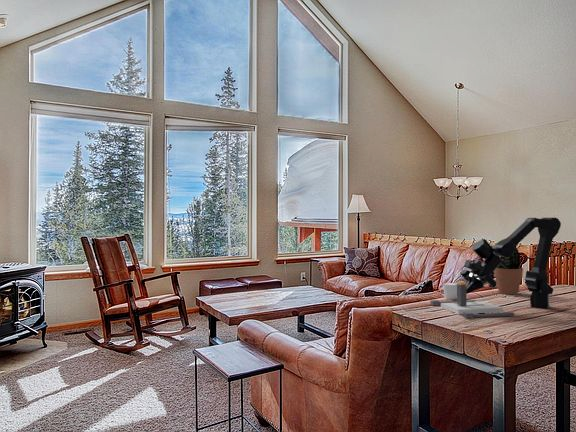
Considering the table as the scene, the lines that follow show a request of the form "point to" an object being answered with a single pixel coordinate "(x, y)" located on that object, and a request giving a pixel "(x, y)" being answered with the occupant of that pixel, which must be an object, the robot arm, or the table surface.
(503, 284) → the potted plant
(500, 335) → the table surface
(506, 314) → the pair of grey rods
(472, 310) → the breaker panel
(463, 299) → the breaker lever
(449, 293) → the white cup
